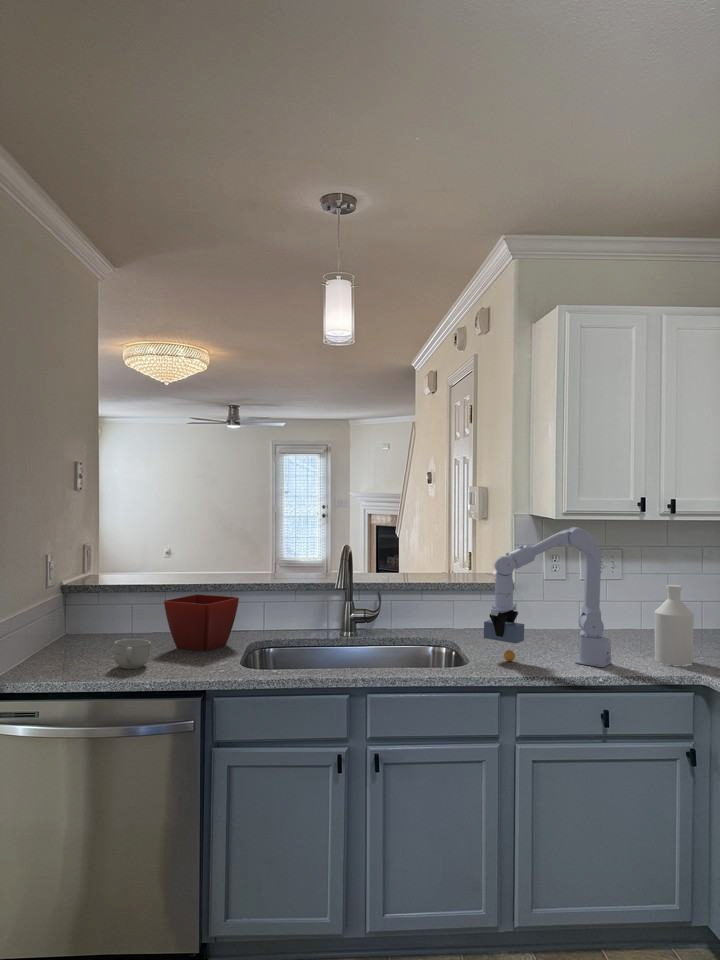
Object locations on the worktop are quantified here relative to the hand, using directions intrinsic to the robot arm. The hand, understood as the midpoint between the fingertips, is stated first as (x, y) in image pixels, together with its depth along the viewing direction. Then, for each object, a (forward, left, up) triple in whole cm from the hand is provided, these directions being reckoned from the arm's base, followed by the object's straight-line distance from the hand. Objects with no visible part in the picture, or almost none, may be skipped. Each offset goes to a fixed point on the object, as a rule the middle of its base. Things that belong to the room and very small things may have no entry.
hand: (503, 634), depth 245 cm
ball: (-2, 0, -7) cm, 7 cm away
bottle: (-45, -32, -9) cm, 56 cm away
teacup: (+87, +81, -9) cm, 119 cm away
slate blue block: (0, 0, -2) cm, 2 cm away
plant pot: (+93, +47, -9) cm, 105 cm away
